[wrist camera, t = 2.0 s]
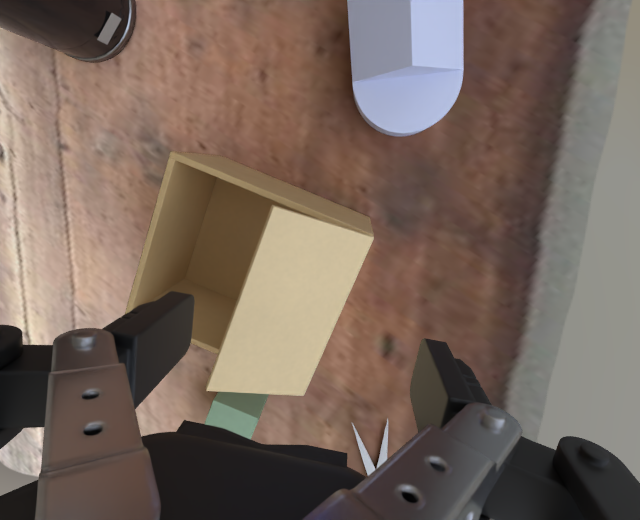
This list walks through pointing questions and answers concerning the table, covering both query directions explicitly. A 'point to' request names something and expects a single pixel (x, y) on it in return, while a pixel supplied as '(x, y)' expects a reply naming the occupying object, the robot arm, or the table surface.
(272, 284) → the flap
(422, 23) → the wedge on round base
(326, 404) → the table surface
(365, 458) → the scissors
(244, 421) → the block
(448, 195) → the table surface
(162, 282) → the carton
